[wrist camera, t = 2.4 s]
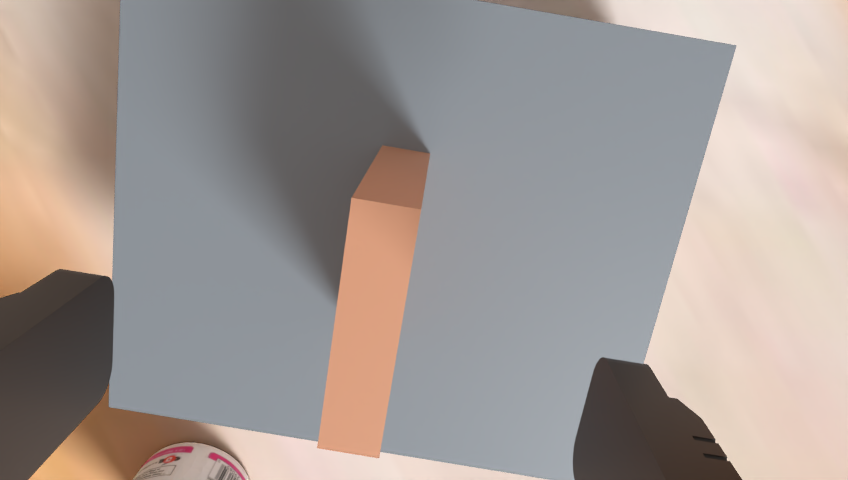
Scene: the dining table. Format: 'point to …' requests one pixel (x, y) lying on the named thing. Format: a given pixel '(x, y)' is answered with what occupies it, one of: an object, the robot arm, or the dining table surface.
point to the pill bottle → (191, 464)
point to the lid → (396, 217)
